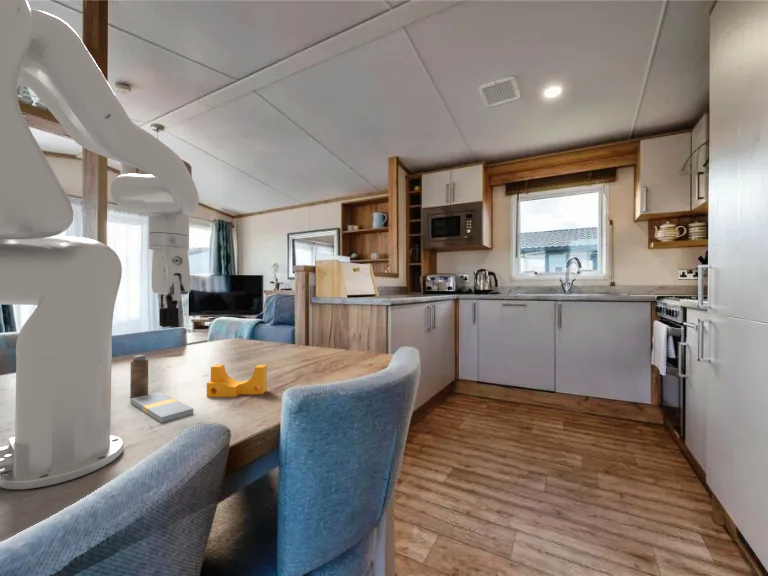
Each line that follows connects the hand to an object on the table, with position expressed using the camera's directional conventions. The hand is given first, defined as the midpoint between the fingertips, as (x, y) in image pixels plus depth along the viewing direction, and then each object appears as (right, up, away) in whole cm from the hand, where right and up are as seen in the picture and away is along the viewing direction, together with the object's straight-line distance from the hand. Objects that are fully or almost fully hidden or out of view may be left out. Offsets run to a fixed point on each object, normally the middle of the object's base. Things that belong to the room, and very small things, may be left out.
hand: (168, 325), depth 72 cm
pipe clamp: (+14, -17, +4) cm, 22 cm away
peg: (-7, -16, +1) cm, 18 cm away
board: (+2, -16, -6) cm, 17 cm away
